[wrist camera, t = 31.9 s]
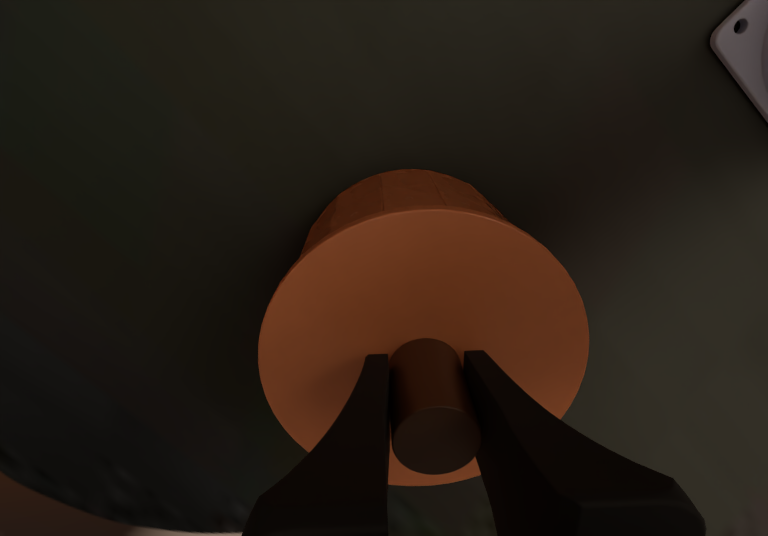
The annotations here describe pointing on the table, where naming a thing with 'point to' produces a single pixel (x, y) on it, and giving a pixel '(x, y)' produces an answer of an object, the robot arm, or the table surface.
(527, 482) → the robot arm
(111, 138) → the table surface
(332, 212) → the pot
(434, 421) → the lid
